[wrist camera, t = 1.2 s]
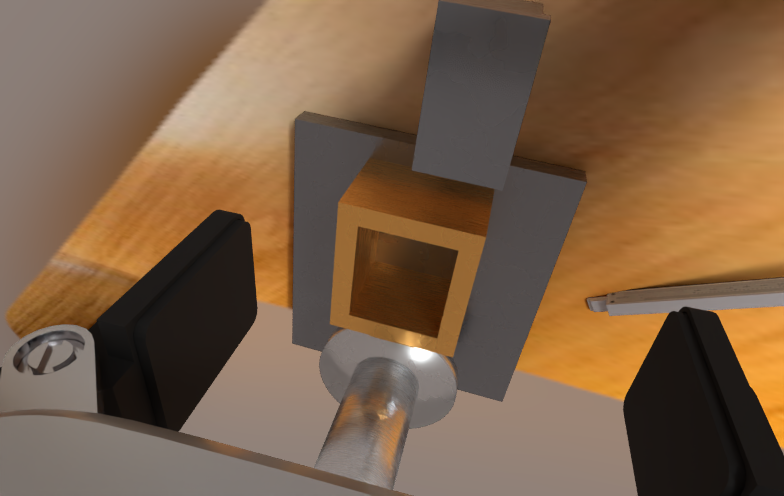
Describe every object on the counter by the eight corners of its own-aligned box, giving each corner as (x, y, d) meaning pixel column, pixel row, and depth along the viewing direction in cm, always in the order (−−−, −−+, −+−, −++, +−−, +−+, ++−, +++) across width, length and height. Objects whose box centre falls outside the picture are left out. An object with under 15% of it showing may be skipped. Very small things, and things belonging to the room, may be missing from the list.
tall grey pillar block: (471, -29, 27) (438, 0, 18) (548, -16, 26) (550, 20, 18) (447, 99, 30) (411, 170, 22) (513, 112, 30) (502, 190, 22)
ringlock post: (304, 111, 33) (85, 295, 17) (585, 171, 31) (627, 447, 15) (299, 339, 45) (167, 570, 29) (500, 395, 43) (474, 679, 27)
